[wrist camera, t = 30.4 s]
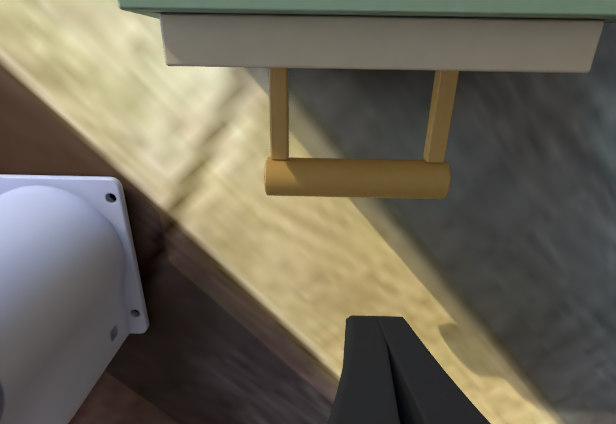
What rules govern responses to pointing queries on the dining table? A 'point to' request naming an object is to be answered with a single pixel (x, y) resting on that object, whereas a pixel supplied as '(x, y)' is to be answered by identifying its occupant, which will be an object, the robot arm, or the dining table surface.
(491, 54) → the drawer
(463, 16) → the cabinet
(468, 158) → the dining table surface
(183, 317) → the dining table surface
